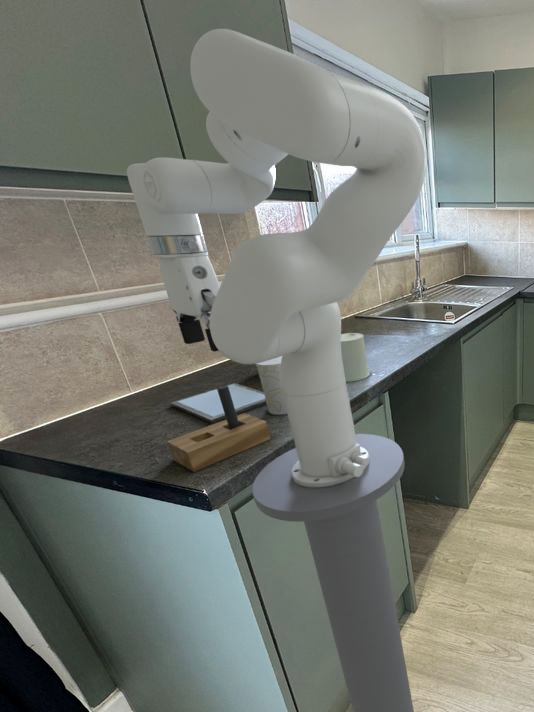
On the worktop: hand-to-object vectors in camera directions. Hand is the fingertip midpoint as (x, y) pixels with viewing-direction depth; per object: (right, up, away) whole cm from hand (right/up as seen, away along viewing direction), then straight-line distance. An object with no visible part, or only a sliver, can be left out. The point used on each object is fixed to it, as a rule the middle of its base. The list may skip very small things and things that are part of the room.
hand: (208, 345), depth 76 cm
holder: (-1, -20, +5) cm, 20 cm away
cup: (+2, -13, +23) cm, 27 cm away
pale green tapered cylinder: (+10, -5, +43) cm, 44 cm away
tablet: (-16, -12, +27) cm, 33 cm away
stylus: (+1, -19, +7) cm, 20 cm away
